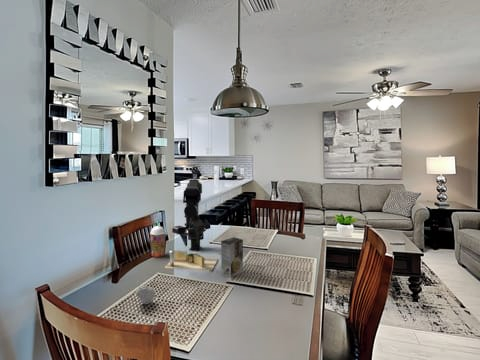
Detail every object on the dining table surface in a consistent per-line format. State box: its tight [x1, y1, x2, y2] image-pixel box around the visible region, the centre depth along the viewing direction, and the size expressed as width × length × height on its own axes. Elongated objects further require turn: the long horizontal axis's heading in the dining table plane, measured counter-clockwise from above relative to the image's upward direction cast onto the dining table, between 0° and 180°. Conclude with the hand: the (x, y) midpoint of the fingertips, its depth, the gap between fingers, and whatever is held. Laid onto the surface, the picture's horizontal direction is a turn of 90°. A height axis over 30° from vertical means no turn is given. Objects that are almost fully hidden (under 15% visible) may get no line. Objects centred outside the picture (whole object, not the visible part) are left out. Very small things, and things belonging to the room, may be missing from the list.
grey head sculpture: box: [135, 285, 156, 305], centre depth 108 cm, size 6×7×7 cm
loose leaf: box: [193, 253, 205, 267], centre depth 146 cm, size 2×8×4 cm, turn 39°
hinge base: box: [174, 250, 195, 263], centre depth 152 cm, size 5×13×5 cm, turn 84°
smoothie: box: [149, 220, 166, 258], centre depth 160 cm, size 8×8×20 cm
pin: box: [168, 249, 176, 267], centre depth 145 cm, size 3×3×8 cm
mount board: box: [164, 257, 219, 272], centre depth 149 cm, size 16×24×1 cm, turn 84°
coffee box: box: [220, 236, 244, 278], centre depth 137 cm, size 9×6×16 cm
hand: (192, 244), depth 142 cm, fingers open, 6 cm apart
